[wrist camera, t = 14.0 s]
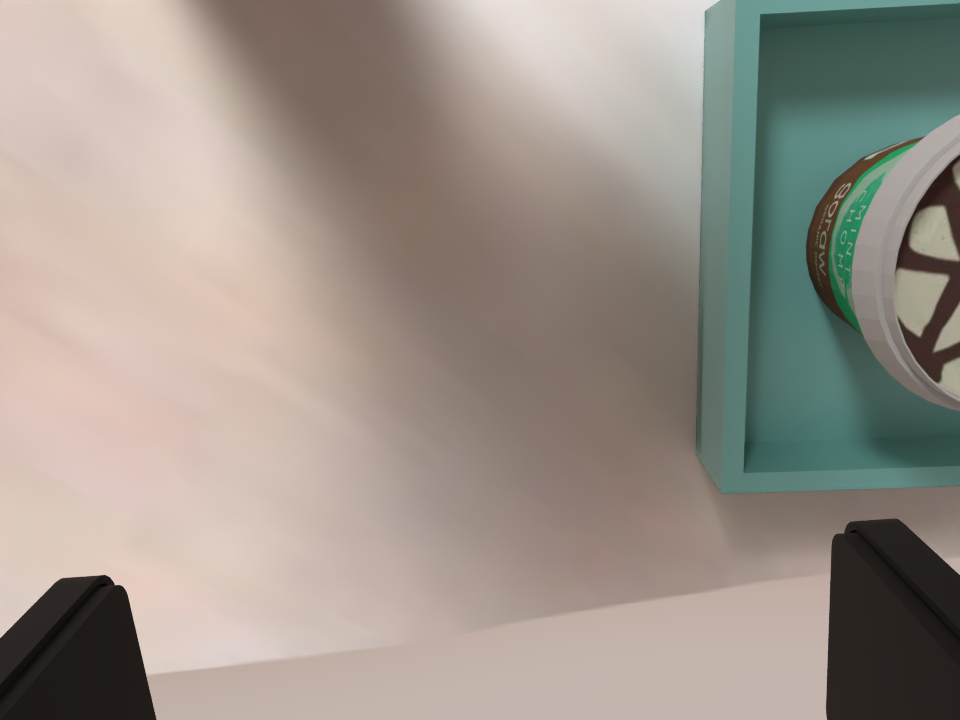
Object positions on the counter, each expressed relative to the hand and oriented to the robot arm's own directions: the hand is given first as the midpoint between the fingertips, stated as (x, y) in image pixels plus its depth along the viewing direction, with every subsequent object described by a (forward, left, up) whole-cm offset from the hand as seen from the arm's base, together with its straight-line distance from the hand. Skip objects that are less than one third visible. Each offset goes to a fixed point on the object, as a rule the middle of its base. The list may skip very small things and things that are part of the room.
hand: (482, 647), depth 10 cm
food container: (-1, +17, -30) cm, 34 cm away
